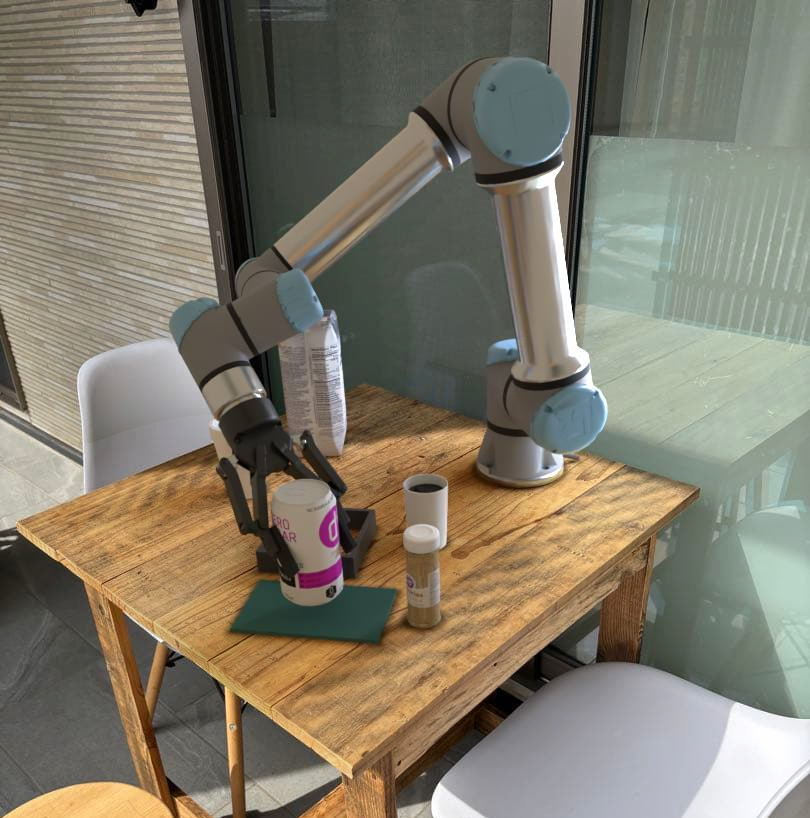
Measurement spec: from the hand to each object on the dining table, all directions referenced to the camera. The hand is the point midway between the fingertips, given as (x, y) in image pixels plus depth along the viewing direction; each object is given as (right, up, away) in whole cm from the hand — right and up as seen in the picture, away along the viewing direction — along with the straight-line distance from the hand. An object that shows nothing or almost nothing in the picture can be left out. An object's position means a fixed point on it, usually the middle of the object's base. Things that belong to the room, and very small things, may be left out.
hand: (323, 561), depth 108 cm
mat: (-2, -7, +7) cm, 10 cm away
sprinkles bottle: (+13, -8, +4) cm, 16 cm away
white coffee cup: (+14, +2, +22) cm, 26 cm away
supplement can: (-2, -4, +5) cm, 7 cm away
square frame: (-3, +1, +21) cm, 21 cm away
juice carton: (-6, +20, +54) cm, 57 cm away
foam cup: (-17, +11, +40) cm, 45 cm away
